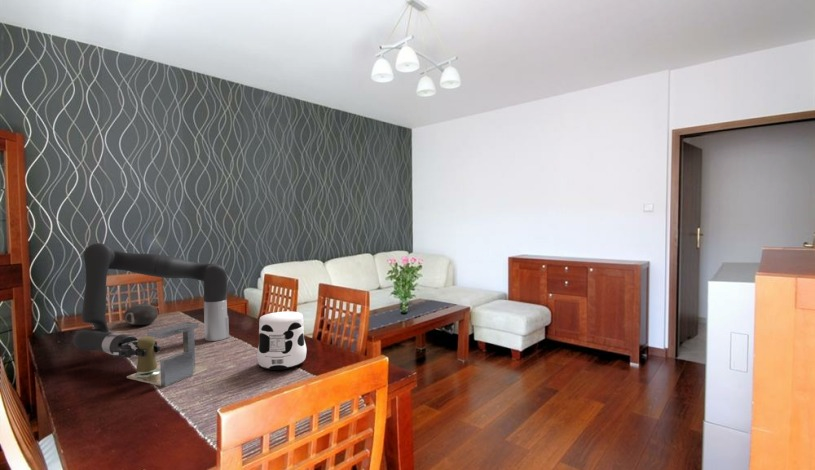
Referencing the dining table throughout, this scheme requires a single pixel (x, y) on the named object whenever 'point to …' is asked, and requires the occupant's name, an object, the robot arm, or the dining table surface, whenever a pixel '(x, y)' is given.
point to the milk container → (281, 340)
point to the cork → (149, 360)
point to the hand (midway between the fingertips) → (151, 351)
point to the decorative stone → (140, 314)
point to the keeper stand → (173, 358)
